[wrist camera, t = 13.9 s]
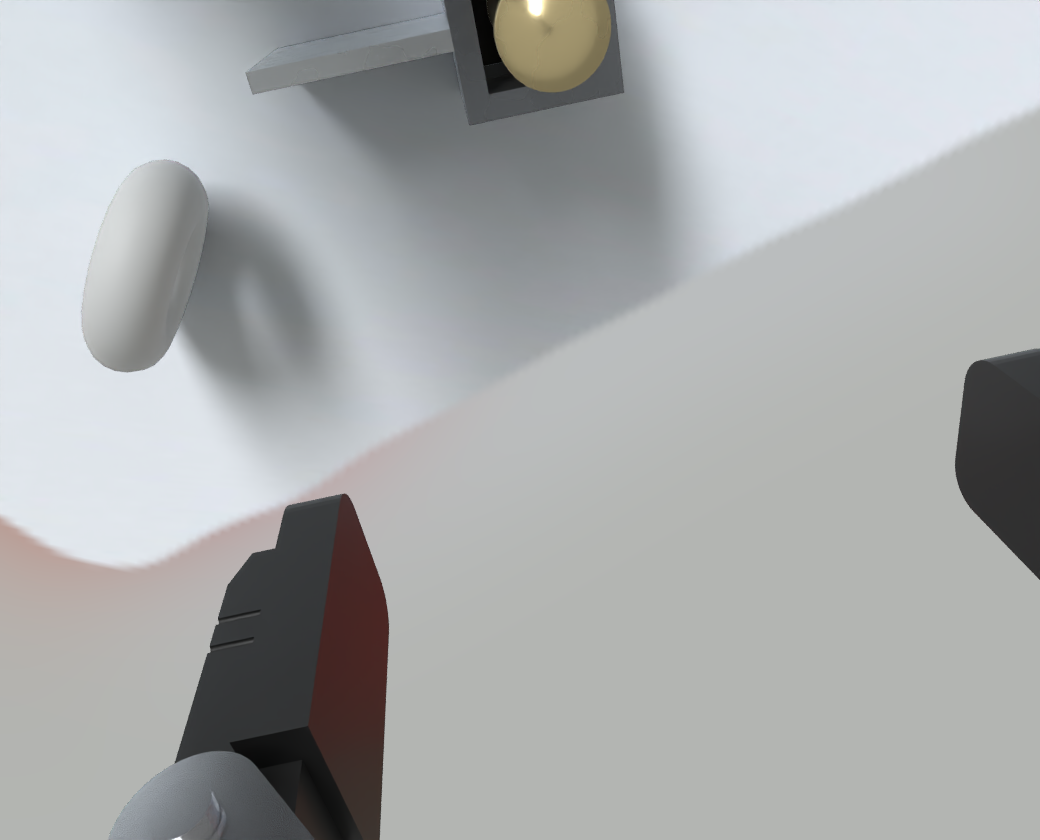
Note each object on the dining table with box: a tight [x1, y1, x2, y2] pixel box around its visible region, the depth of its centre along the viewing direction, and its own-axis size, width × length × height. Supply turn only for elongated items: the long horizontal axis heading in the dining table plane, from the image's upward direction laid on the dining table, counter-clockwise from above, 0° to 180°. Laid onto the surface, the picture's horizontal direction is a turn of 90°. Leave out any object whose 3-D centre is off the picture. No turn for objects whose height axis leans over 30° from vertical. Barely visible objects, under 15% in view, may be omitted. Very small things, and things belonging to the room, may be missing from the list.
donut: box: [81, 159, 209, 372], centre depth 38 cm, size 10×4×10 cm, turn 157°
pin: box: [487, 0, 611, 92], centre depth 33 cm, size 4×4×12 cm
